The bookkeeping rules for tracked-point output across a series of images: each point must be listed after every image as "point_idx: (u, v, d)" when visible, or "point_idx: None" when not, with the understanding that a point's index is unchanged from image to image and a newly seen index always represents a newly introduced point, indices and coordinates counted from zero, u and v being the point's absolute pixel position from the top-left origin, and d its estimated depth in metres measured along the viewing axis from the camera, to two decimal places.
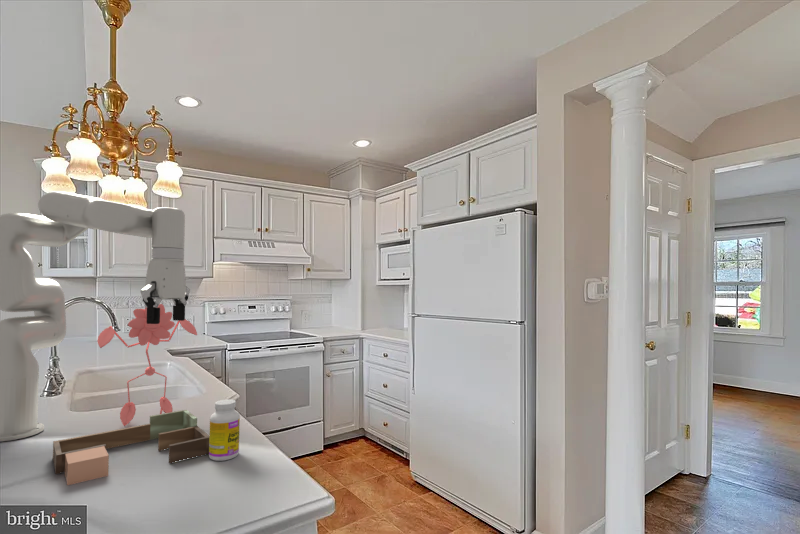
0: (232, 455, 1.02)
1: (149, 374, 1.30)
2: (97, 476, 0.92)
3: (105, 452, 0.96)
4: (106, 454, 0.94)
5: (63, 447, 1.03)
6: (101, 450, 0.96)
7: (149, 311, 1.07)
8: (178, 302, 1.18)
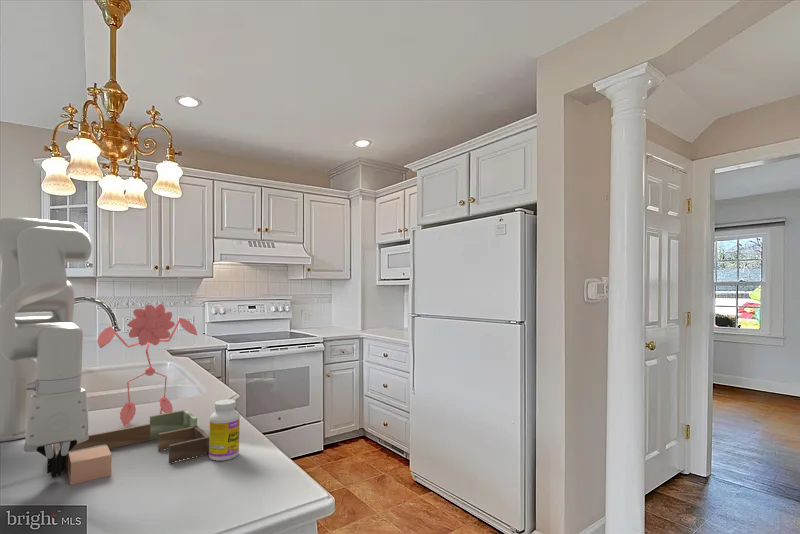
0: (232, 455, 1.02)
1: (149, 374, 1.30)
2: (100, 475, 0.93)
3: (108, 451, 0.96)
4: (109, 453, 0.95)
5: None
6: (104, 449, 0.97)
7: (65, 458, 0.91)
8: None
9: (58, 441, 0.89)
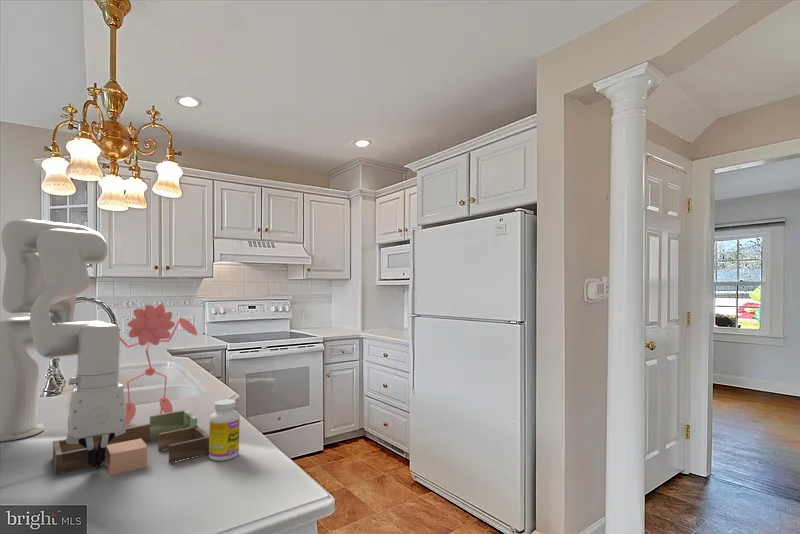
0: (232, 455, 1.02)
1: (149, 374, 1.30)
2: (137, 466, 0.97)
3: (143, 443, 1.00)
4: (145, 446, 0.99)
5: (63, 447, 1.03)
6: (139, 442, 1.01)
7: None
8: None
9: (98, 433, 0.93)
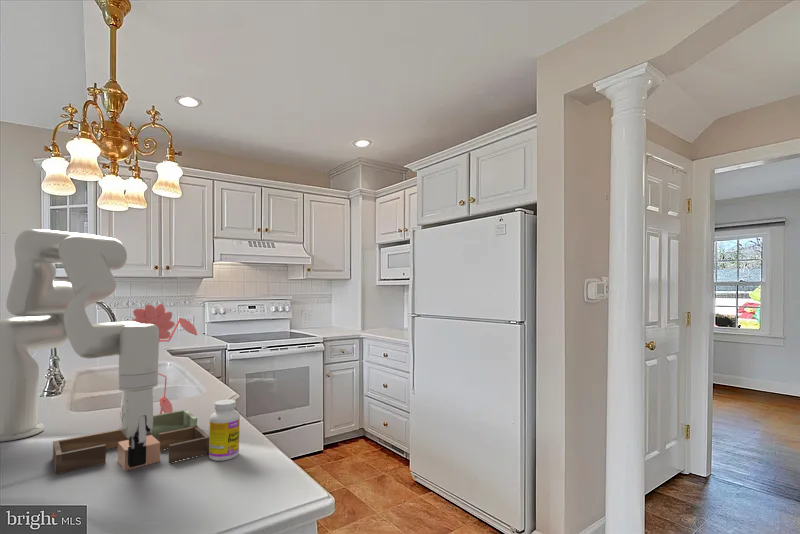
0: (232, 455, 1.02)
1: None
2: (150, 462, 1.00)
3: (155, 439, 1.03)
4: (157, 441, 1.02)
5: (63, 447, 1.03)
6: (150, 438, 1.04)
7: (136, 452, 0.95)
8: None
9: (122, 432, 0.94)
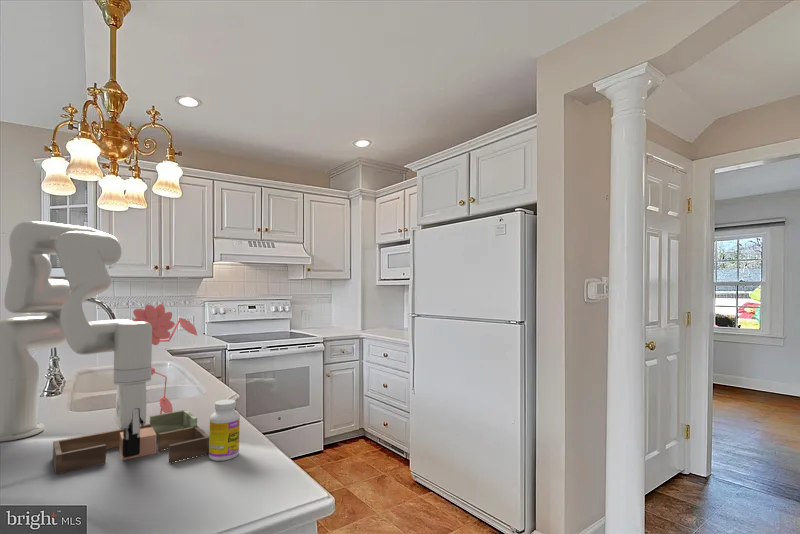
0: (232, 455, 1.02)
1: None
2: (147, 452, 1.05)
3: (153, 432, 1.08)
4: (154, 433, 1.07)
5: (63, 447, 1.03)
6: (149, 430, 1.09)
7: (130, 443, 1.00)
8: None
9: (117, 424, 0.99)
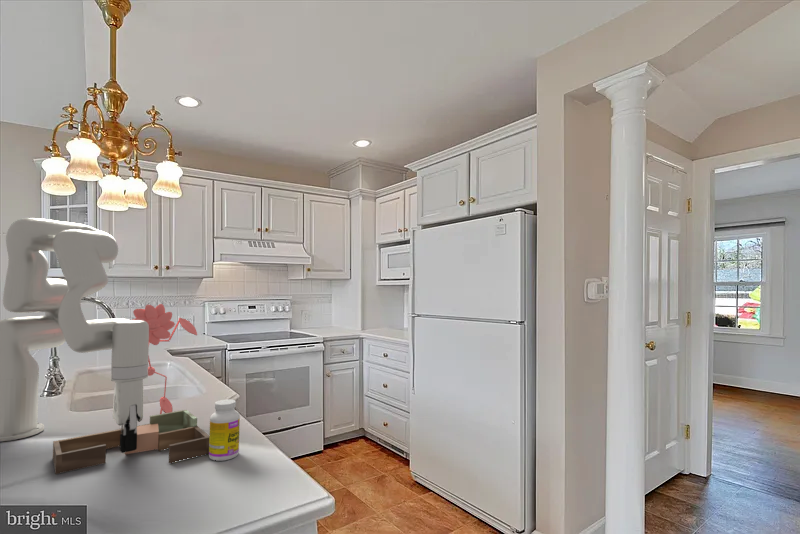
0: (232, 455, 1.02)
1: (149, 374, 1.30)
2: (149, 448, 1.08)
3: (157, 428, 1.11)
4: (157, 430, 1.09)
5: (63, 447, 1.03)
6: (154, 427, 1.12)
7: (128, 439, 1.02)
8: None
9: (115, 420, 1.02)
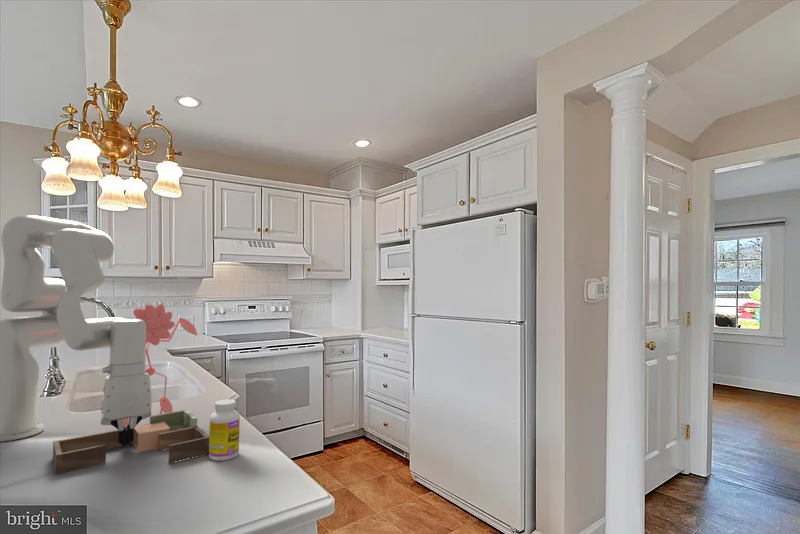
0: (232, 455, 1.02)
1: (149, 374, 1.30)
2: None
3: (166, 425, 1.13)
4: (167, 427, 1.12)
5: (63, 447, 1.03)
6: (162, 424, 1.14)
7: None
8: None
9: (128, 416, 1.06)
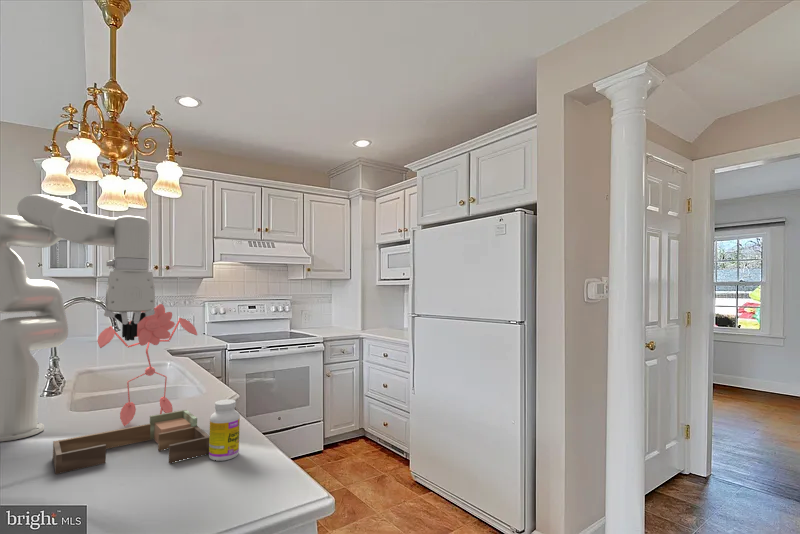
0: (232, 455, 1.02)
1: (149, 374, 1.30)
2: None
3: (186, 421, 1.17)
4: (188, 423, 1.15)
5: (63, 447, 1.03)
6: (182, 420, 1.17)
7: None
8: None
9: (132, 310, 1.07)
